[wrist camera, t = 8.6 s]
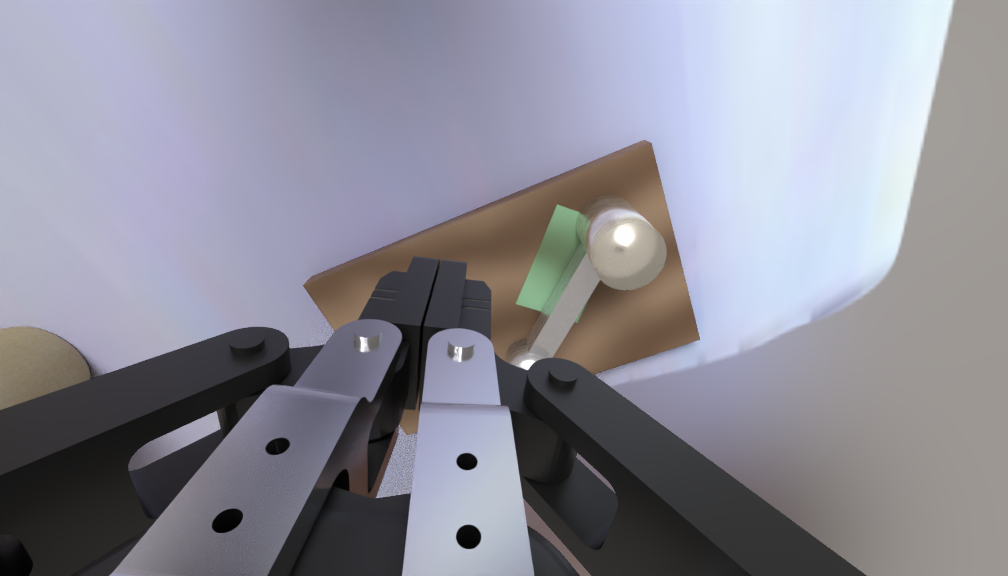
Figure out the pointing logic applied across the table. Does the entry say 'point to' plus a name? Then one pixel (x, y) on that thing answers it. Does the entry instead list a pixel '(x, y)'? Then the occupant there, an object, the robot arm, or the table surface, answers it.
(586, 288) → the lever
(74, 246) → the table surface
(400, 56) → the table surface
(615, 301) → the board
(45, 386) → the plant pot
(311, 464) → the robot arm
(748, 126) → the table surface
